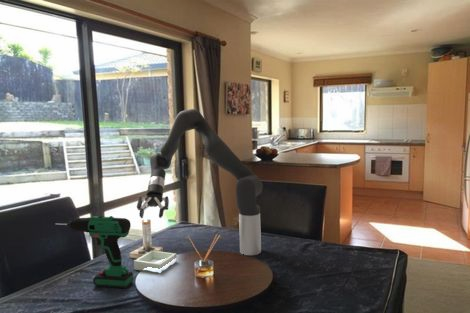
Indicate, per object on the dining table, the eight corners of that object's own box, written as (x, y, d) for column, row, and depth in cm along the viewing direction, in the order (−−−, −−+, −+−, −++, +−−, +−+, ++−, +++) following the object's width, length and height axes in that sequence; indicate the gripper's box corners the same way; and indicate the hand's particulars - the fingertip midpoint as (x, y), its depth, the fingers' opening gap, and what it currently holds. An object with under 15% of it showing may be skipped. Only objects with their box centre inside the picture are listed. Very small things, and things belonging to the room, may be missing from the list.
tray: (152, 258, 156) (151, 250, 155) (176, 261, 151) (176, 253, 151) (134, 269, 144) (133, 260, 144) (160, 273, 140) (159, 264, 140)
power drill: (127, 289, 127) (123, 218, 125) (54, 284, 133) (48, 216, 131) (135, 282, 133) (131, 214, 130) (64, 277, 139) (59, 212, 136)
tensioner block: (143, 249, 167) (143, 243, 166) (162, 252, 163) (162, 245, 163) (129, 257, 157) (129, 251, 157) (149, 260, 154) (149, 253, 153)
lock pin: (146, 252, 164) (145, 219, 162) (153, 253, 162) (152, 219, 161) (141, 254, 160) (140, 221, 159) (148, 255, 159) (147, 222, 157)
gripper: (139, 183, 175) (133, 213, 164) (169, 182, 174) (164, 212, 164) (143, 192, 180) (137, 221, 170) (172, 191, 180) (167, 221, 169)
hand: (150, 217), depth 167 cm, fingers open, 8 cm apart
